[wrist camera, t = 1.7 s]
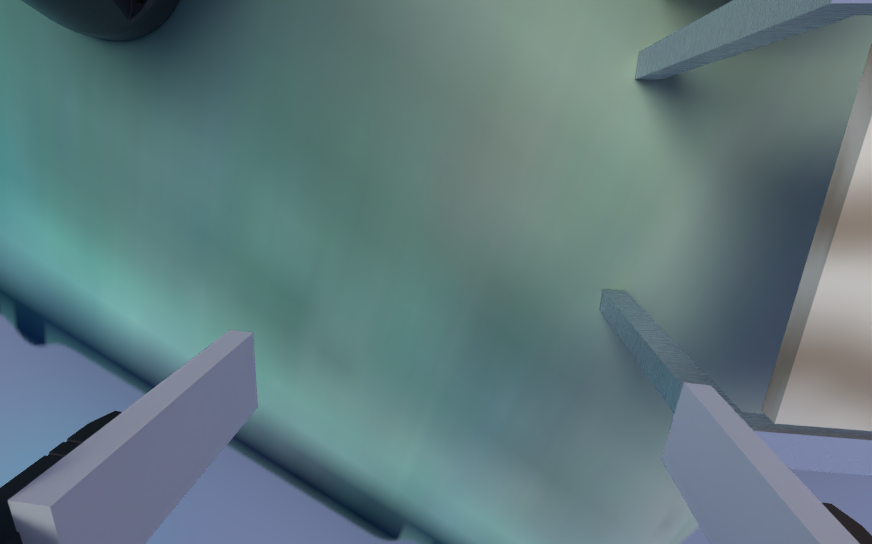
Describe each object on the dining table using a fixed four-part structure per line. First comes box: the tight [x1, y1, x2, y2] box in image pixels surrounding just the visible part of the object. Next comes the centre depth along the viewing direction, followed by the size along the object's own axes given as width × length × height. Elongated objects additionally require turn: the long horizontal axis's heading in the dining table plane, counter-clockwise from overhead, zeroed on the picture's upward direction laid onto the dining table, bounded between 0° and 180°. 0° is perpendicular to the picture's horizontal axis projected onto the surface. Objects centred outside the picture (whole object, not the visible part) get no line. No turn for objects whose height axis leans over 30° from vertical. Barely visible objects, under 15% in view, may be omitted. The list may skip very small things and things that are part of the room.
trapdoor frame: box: [600, 0, 872, 476], centre depth 26 cm, size 22×22×20 cm
